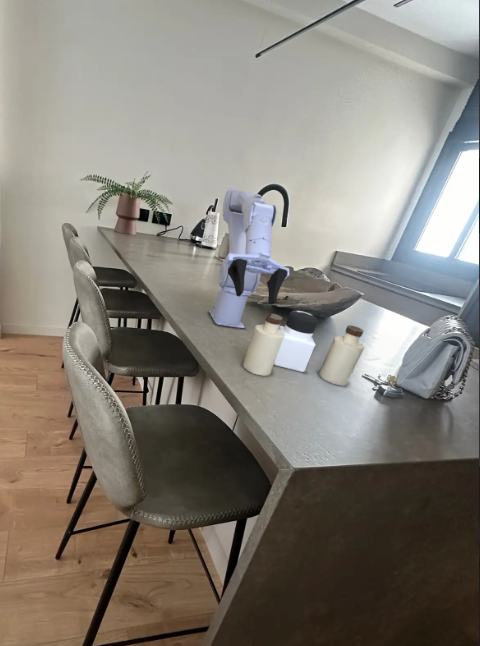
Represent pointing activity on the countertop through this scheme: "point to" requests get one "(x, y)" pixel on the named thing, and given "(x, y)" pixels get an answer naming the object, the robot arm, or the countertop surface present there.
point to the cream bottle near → (264, 346)
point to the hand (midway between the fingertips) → (256, 298)
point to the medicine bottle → (297, 341)
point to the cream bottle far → (342, 357)
